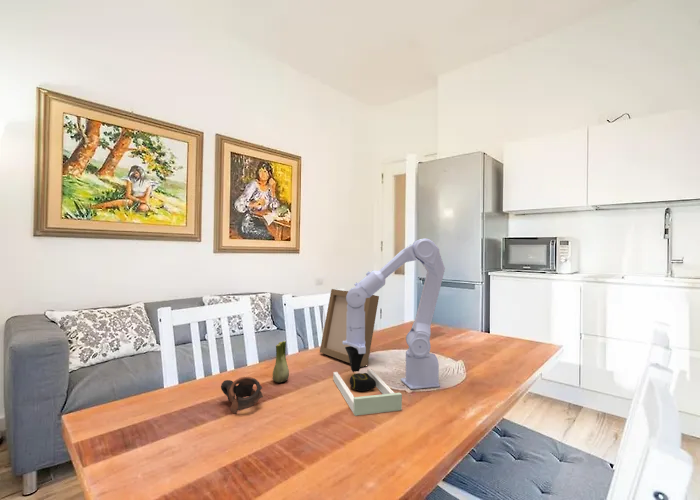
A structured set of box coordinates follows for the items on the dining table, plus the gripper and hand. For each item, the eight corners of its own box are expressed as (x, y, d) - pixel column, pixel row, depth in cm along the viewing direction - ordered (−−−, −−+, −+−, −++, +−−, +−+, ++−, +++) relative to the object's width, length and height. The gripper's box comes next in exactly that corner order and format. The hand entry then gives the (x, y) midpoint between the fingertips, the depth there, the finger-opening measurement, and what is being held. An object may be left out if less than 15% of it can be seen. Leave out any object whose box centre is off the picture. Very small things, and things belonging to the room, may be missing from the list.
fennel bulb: (283, 376, 112) (283, 339, 112) (293, 380, 109) (293, 341, 109) (268, 381, 108) (268, 342, 108) (278, 386, 105) (279, 345, 105)
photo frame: (358, 369, 120) (359, 295, 120) (319, 354, 136) (320, 289, 136) (387, 360, 130) (388, 292, 130) (348, 347, 146) (348, 287, 146)
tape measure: (376, 392, 101) (376, 379, 101) (354, 394, 99) (354, 381, 99) (368, 383, 108) (368, 371, 108) (346, 385, 106) (347, 373, 106)
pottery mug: (269, 399, 96) (270, 379, 92) (250, 430, 88) (250, 409, 84) (230, 385, 99) (229, 364, 95) (208, 413, 91) (206, 392, 87)
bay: (371, 376, 113) (371, 364, 113) (401, 410, 90) (401, 394, 90) (333, 380, 110) (333, 367, 110) (354, 415, 86) (354, 399, 86)
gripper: (337, 322, 115) (337, 364, 115) (349, 332, 101) (348, 380, 101) (358, 321, 116) (358, 362, 116) (372, 331, 102) (372, 378, 102)
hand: (355, 370), depth 109 cm, fingers closed
